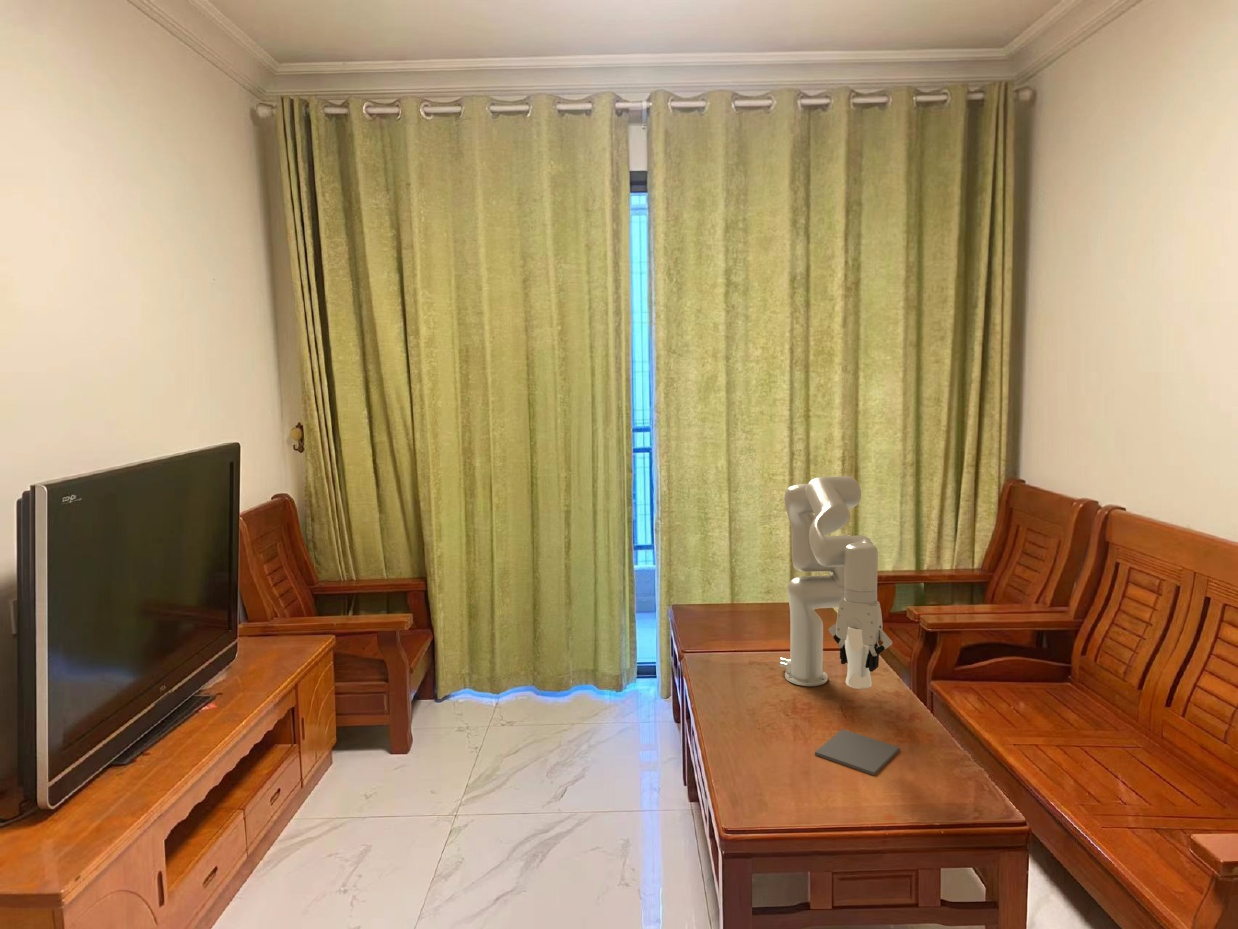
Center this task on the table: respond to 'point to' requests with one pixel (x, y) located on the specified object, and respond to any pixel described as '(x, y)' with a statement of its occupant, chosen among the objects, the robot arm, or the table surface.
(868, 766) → the charcoal mat
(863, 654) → the beer glass
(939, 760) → the table surface
